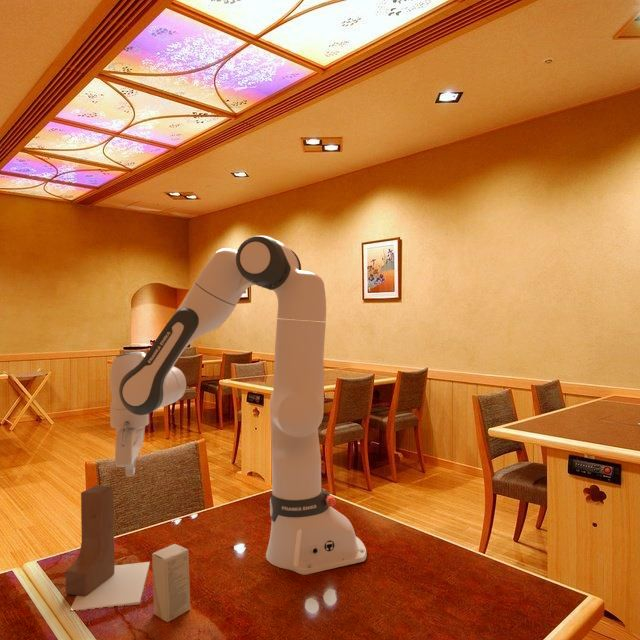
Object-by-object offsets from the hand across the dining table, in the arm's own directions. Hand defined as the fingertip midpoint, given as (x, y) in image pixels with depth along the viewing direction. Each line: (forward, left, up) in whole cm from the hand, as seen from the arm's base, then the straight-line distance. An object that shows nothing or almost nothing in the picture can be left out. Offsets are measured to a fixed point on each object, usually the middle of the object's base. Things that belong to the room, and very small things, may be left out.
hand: (130, 475), depth 124 cm
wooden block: (+4, +23, -15) cm, 28 cm away
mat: (0, +24, -15) cm, 28 cm away
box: (-12, +36, -15) cm, 41 cm away
